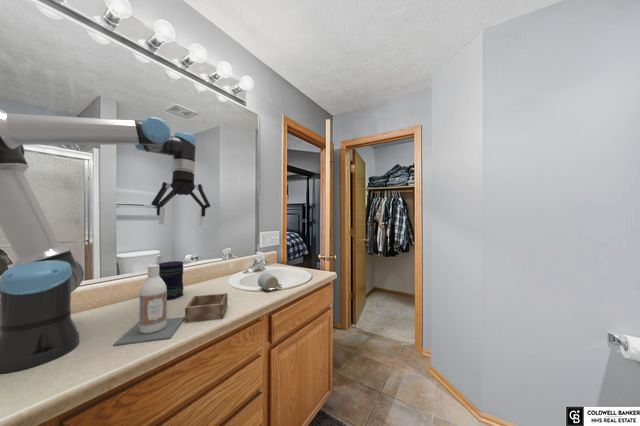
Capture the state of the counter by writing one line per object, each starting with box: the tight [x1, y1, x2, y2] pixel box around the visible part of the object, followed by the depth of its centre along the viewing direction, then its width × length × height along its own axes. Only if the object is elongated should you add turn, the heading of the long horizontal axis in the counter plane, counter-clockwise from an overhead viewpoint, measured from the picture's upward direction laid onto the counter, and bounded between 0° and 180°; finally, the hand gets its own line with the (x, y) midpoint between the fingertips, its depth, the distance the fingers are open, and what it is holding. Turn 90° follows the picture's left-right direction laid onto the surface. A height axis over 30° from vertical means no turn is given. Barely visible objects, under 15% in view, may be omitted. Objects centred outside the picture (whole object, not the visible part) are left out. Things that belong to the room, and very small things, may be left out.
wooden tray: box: [184, 292, 228, 324], centre depth 84 cm, size 12×12×5 cm
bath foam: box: [138, 263, 168, 334], centre depth 72 cm, size 7×7×20 cm
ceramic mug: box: [257, 272, 282, 292], centre depth 112 cm, size 11×8×8 cm
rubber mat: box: [112, 316, 185, 347], centre depth 72 cm, size 14×14×1 cm
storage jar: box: [157, 260, 184, 301], centre depth 102 cm, size 10×10×15 cm
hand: (181, 224), depth 90 cm, fingers open, 13 cm apart
